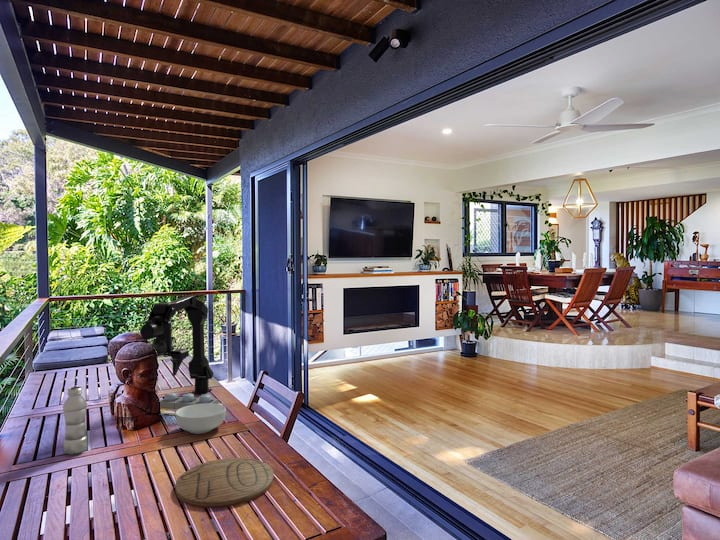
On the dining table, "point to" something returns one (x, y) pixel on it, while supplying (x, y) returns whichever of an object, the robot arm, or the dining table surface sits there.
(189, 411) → the cereal bowl
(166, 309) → the robot arm
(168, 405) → the board
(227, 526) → the dining table surface
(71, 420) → the plastic bottle
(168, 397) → the button
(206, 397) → the button
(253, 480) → the trivet
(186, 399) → the button
